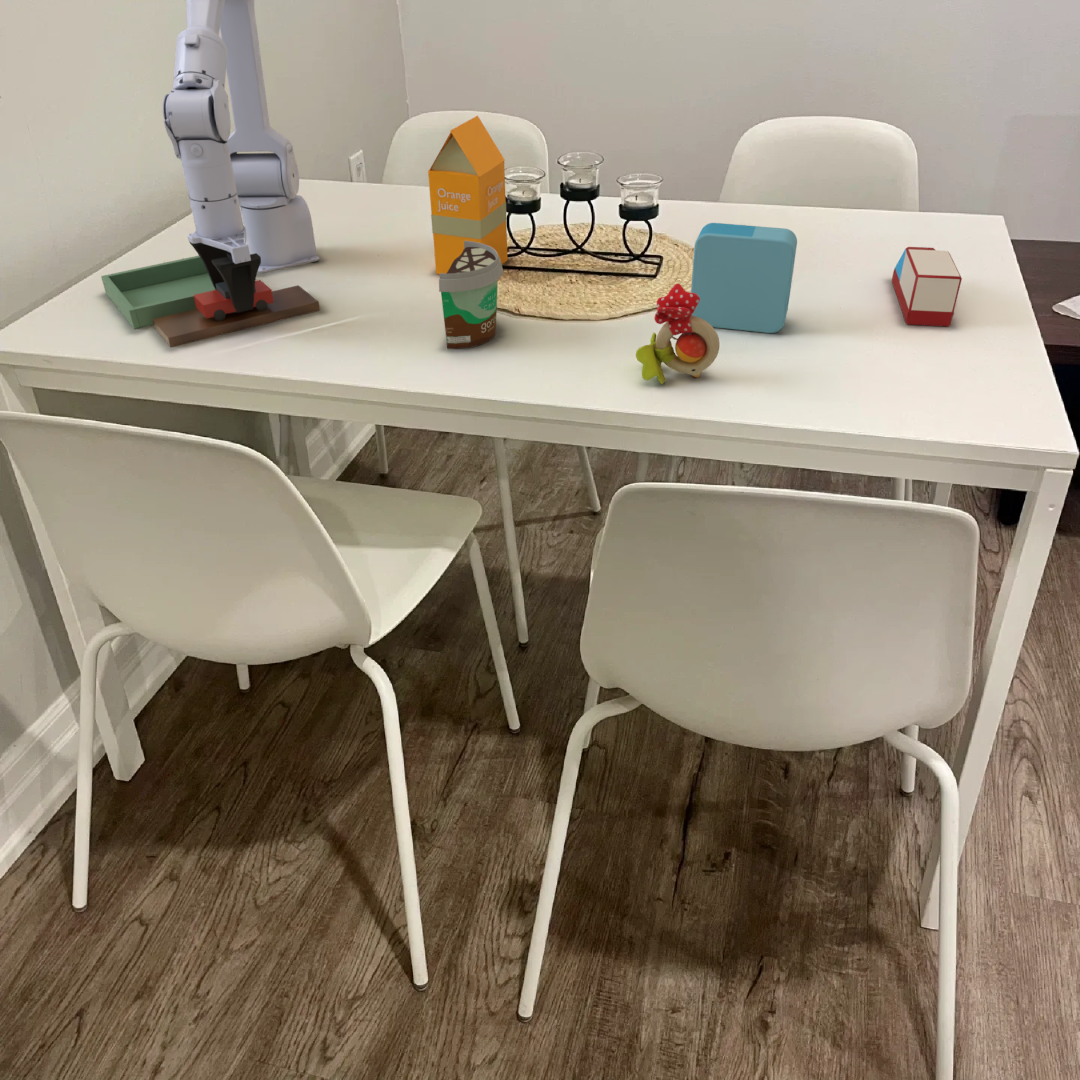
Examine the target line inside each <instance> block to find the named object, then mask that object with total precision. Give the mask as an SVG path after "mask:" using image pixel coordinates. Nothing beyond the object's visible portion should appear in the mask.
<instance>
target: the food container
mask: <svg viewBox="0 0 1080 1080" xmlns="http://www.w3.org/2000/svg"><path fill="white" fill-rule="evenodd" d="M503 274H504V268H503V264H501V260H500V257H499V256H498V254H497V251H496V250H495V249H493V248H492V247H490V246H488V245H485V244H482V243H478V242H472V241H464V250H463V252H462V254H461V255H460V256H459V257H457V258H456V259H455V260H454V261H453V263H452V265H451V267H450V269H449V270H448V272H447V273H446V274H445V273H439V274H438V275H439V276H438V277H439V279H438V292H440V294H441V296H440V297H441V305H442V315H443V322H444V323H443V324H444V332H445V340H446V349H453V350H455V349H456V350H457V349H470V348H473V347H478V346H482V345H484V344H486V343H489V342H490V341H491V340H493V339H494V338H495V337H496V334H497V313H498V312H497V311H498V309H497V308H498V284H499V283H498V280H500V279H501V278H502V276H503Z"/></svg>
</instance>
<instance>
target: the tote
mask: <svg viewBox="0 0 1080 1080" xmlns="http://www.w3.org/2000/svg"><path fill="white" fill-rule="evenodd" d="M100 277H101V281H102V284H103V288H104V291H105V294H106V296H107V297H108V298H109V300H110V301H111V302H112V303H113V304H114V306H115V307H116V308H117V310H118V311H119V312H120V314H121V315H122V316H123V318H124V319H125V320H126V321H127V322H128V323H129V325H130V326H131V327H132V329H133V330H136V329H141V328H145V327H150V326H154V324H153V319H156V318H160V317H164V316H169V315H173V314H177V313H182V312H186V311H190V310H194V309H197V308H196V304H195V300H194V295H196V294H200V293H204V292H209V291H213V290H215V288H214V286H213V284H212V281H211V279H210V277H209V274H208V272H207V270H206V267H205V265H204V263H203V261H202V260H201V258H200V256H199V255H194V256H190V257H186V258H181V259H175V260H171V261H165V262H162V263H157V264H151V265H147V266H142V267H138V268H137V267H136V268H132V269H128V270H123V271H118V272H114V273H109V274H104V275H101V276H100Z"/></svg>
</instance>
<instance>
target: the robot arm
mask: <svg viewBox="0 0 1080 1080" xmlns="http://www.w3.org/2000/svg"><path fill="white" fill-rule="evenodd" d="M256 19H257V18H256V11H255V0H186V29H183V30H182V31H180V32H179V33H178V35H177V36H176V40H175V41H176V42H175V55H174V67H173V81H172V89H171V90H170V92H169V93H166V94H165V95H164V97H163V98H162V117H163V124H164V128H165V132H166V133H167V136H168V137H169V140H170V142H171V143H172V148H173V151H174V155H175V157H176V158H177V159H179V160H180V163H181V167H182V172H183V176H184V181H185V185H186V191H187V195H188V199H189V204H190V209H191V213H192V218H193V222H194V227H195V231H194V232H192V233H188V234H187V240H188V242H189V244H190V245H191V247H192V248H193V249H194V250H195V252H196V253H197V256H200V258H201V260H202V261H203V263H204V265H205V267H206V270H207V272H208V274H209V277H210V279H211V281H212V284H213V286H214V288H215V290H217V289H216V284H217V283H221V282H225V284H226V286H227V289H228V292H229V295H230V298H231V301H232V303H233V306H234V308H235V309H236V311H237V312H243V311H248V310H252V309H253V306H254V289H255V281H257V280H256V278H257V274H265V273H270V272H273V271H279V270H283V269H287V268H291V267H295V266H301V265H304V264H309V263H314V262H319V260H320V256H318V254H317V247H316V240H315V233H314V227H313V219H312V214H311V212H310V211H311V210H310V207H309V206H308V204H307V201H306V199H305V198H304V197H303V195H299V189H300V174H299V173H300V172H299V168H298V167H299V166H298V163H297V160H296V157H295V152H294V146H293V145H292V142H291V141H290V140H289V138H287V137H286V136H284V135H283V134H281V133H280V132H279V131H277V130H275V129H274V128H273V127H272V126H271V125H270V117H269V110H268V109H269V108H268V102H267V95H266V87H265V79H264V71H263V64H262V63H263V62H262V57H261V50H260V49H261V48H260V42H259V36H258V35H259V34H258V27H257V20H256ZM219 35H220V36H219ZM226 78H227V85H228V92H229V95H228V93H227V91H226ZM229 99H230V101H229ZM229 102H230V104H231V111H232V118H233V125H234V130H233V132H231V128H232V125H231V124H232V123H231V121H232V120H231V113H230V105H229ZM244 152H248V153H244ZM251 152H253V153H251ZM255 152H256V153H255Z"/></svg>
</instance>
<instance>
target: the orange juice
mask: <svg viewBox="0 0 1080 1080" xmlns="http://www.w3.org/2000/svg"><path fill="white" fill-rule="evenodd" d="M505 161H506V160H505V158H504V156H503V155H502V153H501V151H500V150H499V148H498V147H497V144H496V143H495V142H494V140H493V138H492V137H491V135H490V133H489V132H488V130H487V127H485V125H484V124H483V122H482V121H481V118H480V117H479V115H476V116H474V117H472V118H470V119H468V120H467V121H465V122H463V123H461V124H459V125H458V126H456V127H454V128H452V129H450V130H449V134H448V136H447V138H446V140H445V142H444V143H443V144H442V147H441V149H440V150H439V152H438V154H437V156H436V158H434V161H433V163H432V165H431V166H430V168H429V170H427V174H428V175H427V177H428V187H429V199H430V200H429V201H430V211H431V213H430V216H431V218H430V219H431V231H432V237H433V238H432V239H433V251H434V264H435V274H436V275H439V273H445V274H446V273H447V272H448V270H449V269H450V267H451V265H452V263H453V261H454V260H455V259H456V258H457V257H459V256H460V255H461V254H462V252H463V250H464V241H472V242H478V243H482V244H485V245H488V246H490V247H492V248H493V249H495V250H496V251H497V254H498V256H499V257H500V260H501V264H502V265H503V264H505V263H506V262H507V261H508V259H509V257H508V232H507V230H508V229H507V227H508V226H507V220H508V219H507V202H506V201H507V200H506V198H507V197H506V173H505V172H506V171H505Z"/></svg>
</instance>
